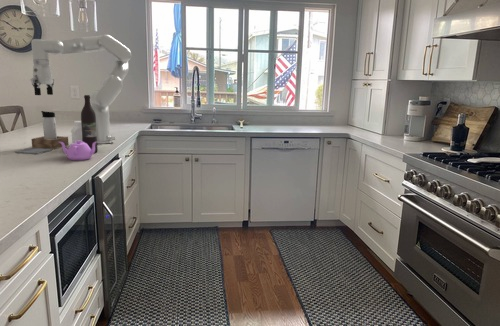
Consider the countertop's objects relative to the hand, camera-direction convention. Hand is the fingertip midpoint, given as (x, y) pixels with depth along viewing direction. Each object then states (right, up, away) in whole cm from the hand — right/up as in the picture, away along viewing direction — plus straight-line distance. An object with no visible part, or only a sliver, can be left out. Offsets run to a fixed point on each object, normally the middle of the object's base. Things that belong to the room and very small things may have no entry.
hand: (44, 94), depth 202 cm
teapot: (+31, -36, -24) cm, 53 cm away
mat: (+2, -32, -12) cm, 34 cm away
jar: (+21, -30, +2) cm, 37 cm away
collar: (+2, -29, +3) cm, 29 cm away
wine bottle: (+30, -33, -9) cm, 45 cm away
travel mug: (+2, -29, +3) cm, 29 cm away
